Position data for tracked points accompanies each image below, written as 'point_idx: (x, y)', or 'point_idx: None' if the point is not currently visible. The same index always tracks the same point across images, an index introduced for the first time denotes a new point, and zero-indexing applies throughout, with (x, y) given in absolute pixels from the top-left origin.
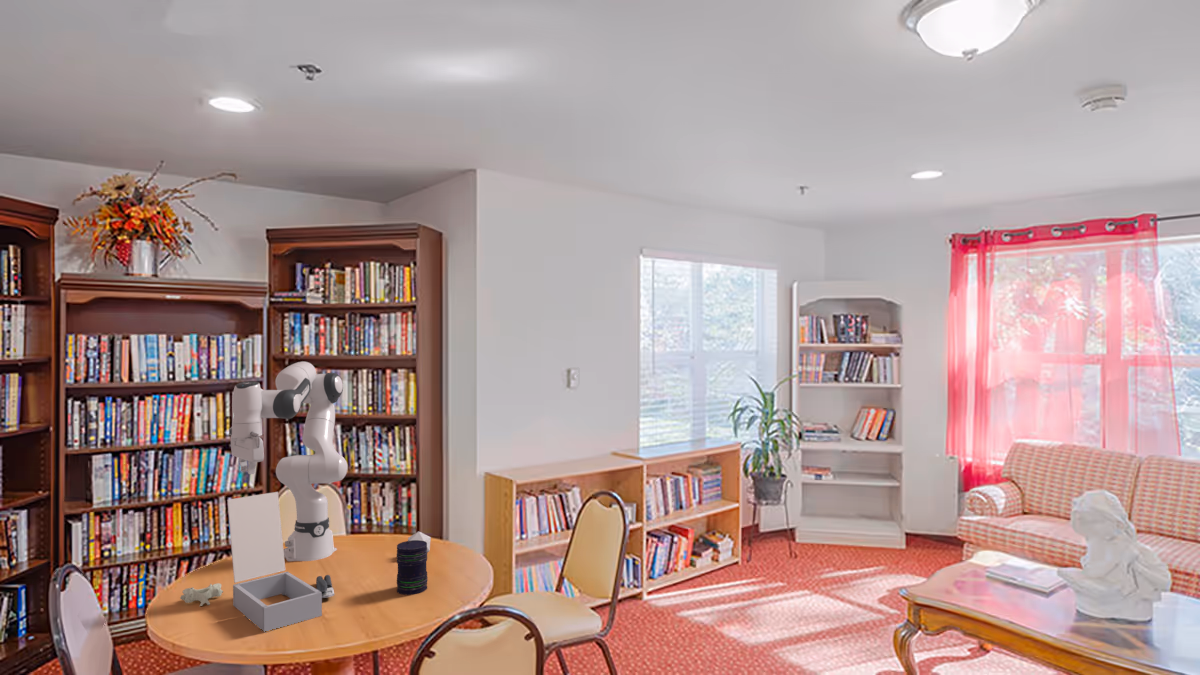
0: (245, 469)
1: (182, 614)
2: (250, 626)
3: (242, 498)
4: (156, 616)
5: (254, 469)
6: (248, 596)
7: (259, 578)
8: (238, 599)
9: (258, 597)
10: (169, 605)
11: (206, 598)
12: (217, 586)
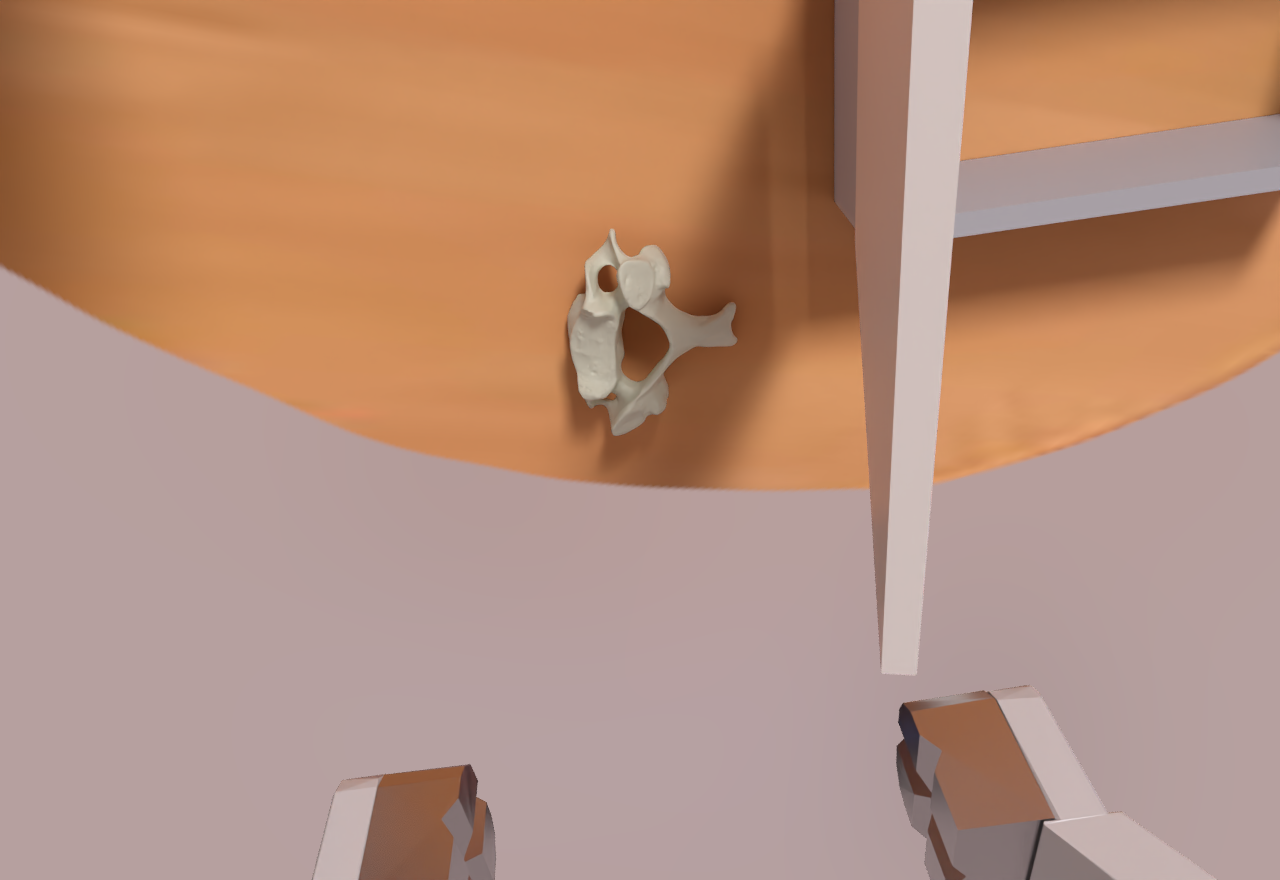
0: (468, 836)
1: (749, 406)
2: None
3: (925, 529)
4: (694, 488)
5: (1085, 784)
6: (1155, 207)
7: None
8: None
9: None
10: (579, 442)
11: (706, 326)
12: (642, 281)
